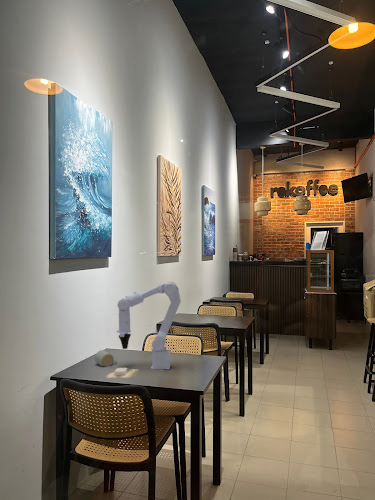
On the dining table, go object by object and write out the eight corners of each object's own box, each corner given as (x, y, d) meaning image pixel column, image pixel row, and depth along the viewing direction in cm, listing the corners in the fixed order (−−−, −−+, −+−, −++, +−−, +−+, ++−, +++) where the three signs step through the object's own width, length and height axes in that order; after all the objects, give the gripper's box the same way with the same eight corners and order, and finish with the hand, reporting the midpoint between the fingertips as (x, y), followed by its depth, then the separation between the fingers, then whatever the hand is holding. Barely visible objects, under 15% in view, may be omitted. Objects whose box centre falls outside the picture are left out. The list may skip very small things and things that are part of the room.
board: (140, 370, 201) (140, 369, 201) (134, 378, 187) (134, 377, 187) (112, 370, 202) (112, 369, 202) (105, 378, 188) (105, 377, 188)
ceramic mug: (102, 368, 206) (102, 353, 206) (94, 365, 212) (94, 351, 212) (120, 365, 212) (120, 350, 213) (112, 362, 219) (112, 348, 219)
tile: (127, 367, 197) (124, 371, 191) (127, 371, 197) (124, 375, 191) (117, 367, 198) (114, 371, 191) (117, 371, 198) (114, 375, 191)
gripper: (119, 319, 214) (120, 345, 213) (113, 324, 199) (114, 351, 199) (133, 319, 213) (133, 345, 213) (127, 324, 199) (128, 351, 199)
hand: (125, 348), depth 206 cm, fingers closed
